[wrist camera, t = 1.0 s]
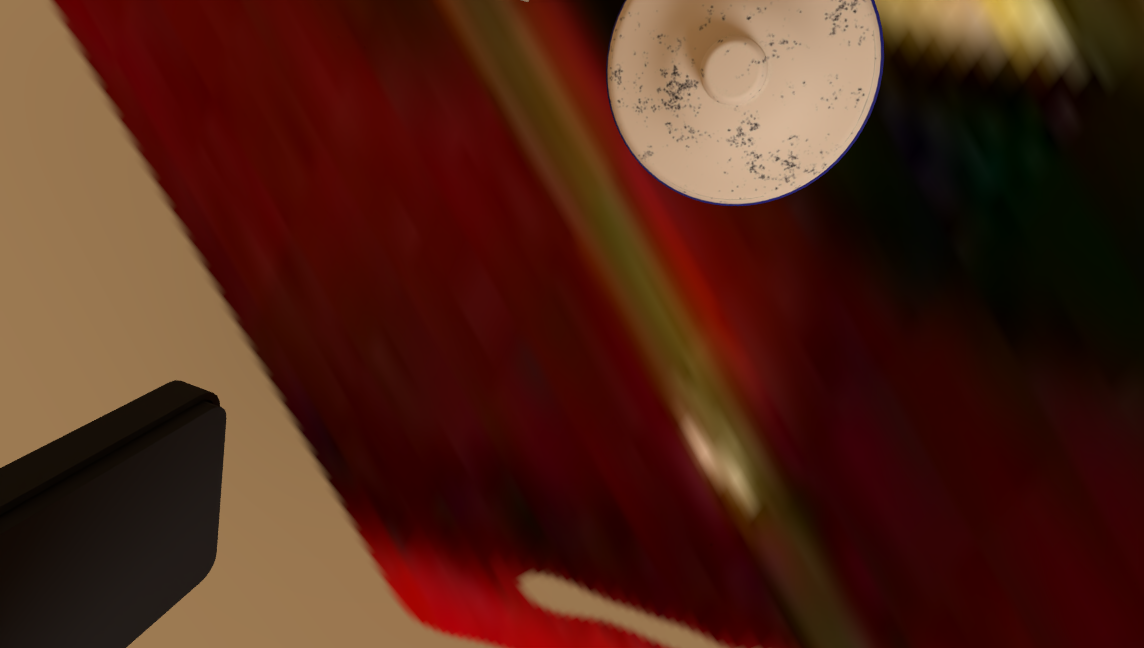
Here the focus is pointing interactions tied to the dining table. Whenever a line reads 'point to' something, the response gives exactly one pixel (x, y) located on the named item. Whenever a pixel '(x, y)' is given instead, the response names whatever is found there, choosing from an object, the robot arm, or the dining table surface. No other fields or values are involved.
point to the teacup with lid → (742, 91)
